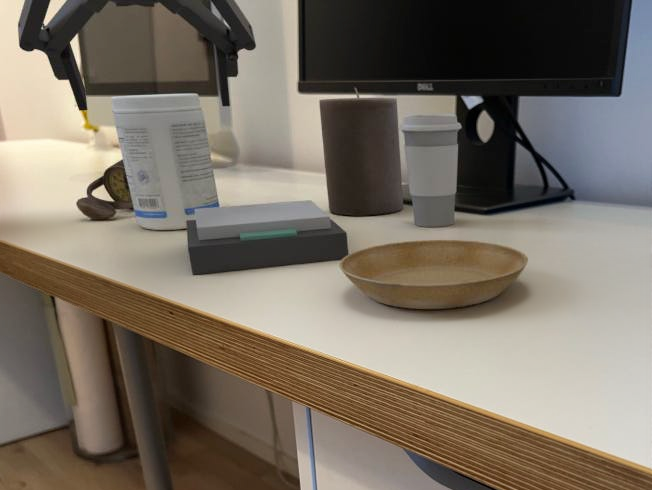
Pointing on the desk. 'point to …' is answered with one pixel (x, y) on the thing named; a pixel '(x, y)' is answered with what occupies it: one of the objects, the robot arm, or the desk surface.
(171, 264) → the desk surface
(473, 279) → the plant saucer
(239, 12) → the robot arm
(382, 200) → the pillar candle
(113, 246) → the desk surface
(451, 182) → the cup
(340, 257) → the scale
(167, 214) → the supplement tub
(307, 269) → the desk surface
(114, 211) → the antique desk clock
